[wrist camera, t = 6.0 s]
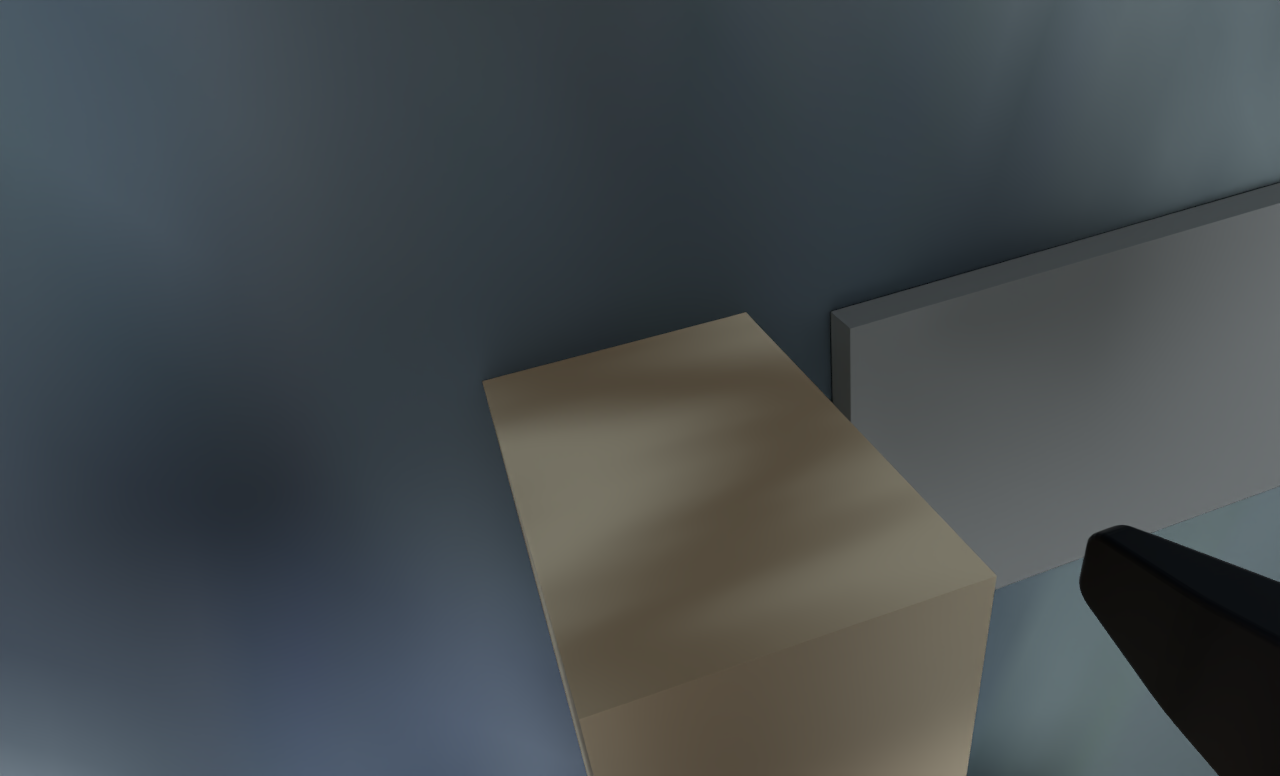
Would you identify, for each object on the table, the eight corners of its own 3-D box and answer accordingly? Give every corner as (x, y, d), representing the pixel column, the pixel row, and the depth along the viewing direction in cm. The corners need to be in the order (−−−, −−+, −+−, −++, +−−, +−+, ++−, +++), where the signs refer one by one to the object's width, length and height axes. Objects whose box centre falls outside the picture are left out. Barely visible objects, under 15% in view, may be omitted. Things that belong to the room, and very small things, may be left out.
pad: (1607, 88, 16) (1647, 95, 15) (1460, 396, 19) (1489, 409, 19) (830, 311, 13) (850, 329, 12) (837, 619, 17) (852, 642, 16)
